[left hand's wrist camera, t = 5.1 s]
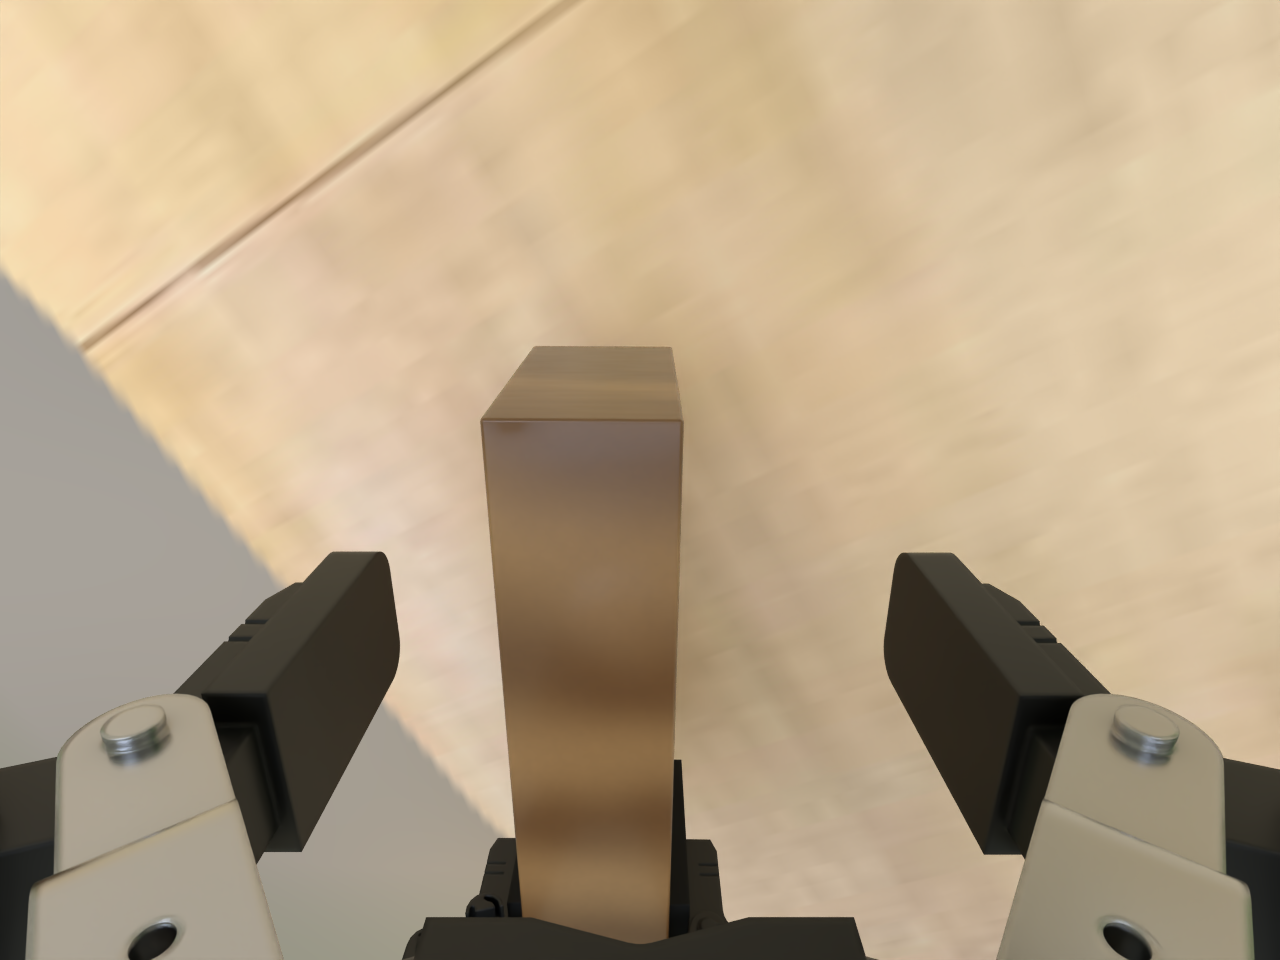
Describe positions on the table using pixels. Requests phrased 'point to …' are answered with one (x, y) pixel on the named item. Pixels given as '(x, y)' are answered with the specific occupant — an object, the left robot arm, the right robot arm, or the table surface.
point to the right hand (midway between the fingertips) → (608, 784)
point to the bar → (589, 628)
